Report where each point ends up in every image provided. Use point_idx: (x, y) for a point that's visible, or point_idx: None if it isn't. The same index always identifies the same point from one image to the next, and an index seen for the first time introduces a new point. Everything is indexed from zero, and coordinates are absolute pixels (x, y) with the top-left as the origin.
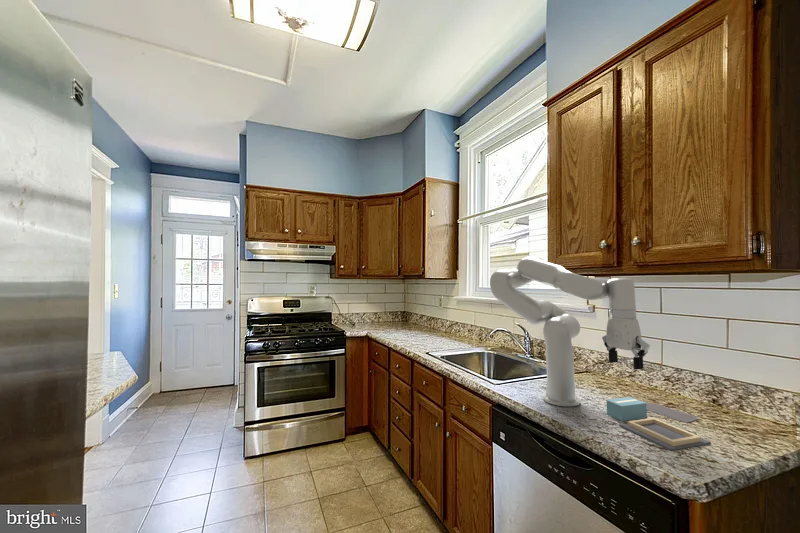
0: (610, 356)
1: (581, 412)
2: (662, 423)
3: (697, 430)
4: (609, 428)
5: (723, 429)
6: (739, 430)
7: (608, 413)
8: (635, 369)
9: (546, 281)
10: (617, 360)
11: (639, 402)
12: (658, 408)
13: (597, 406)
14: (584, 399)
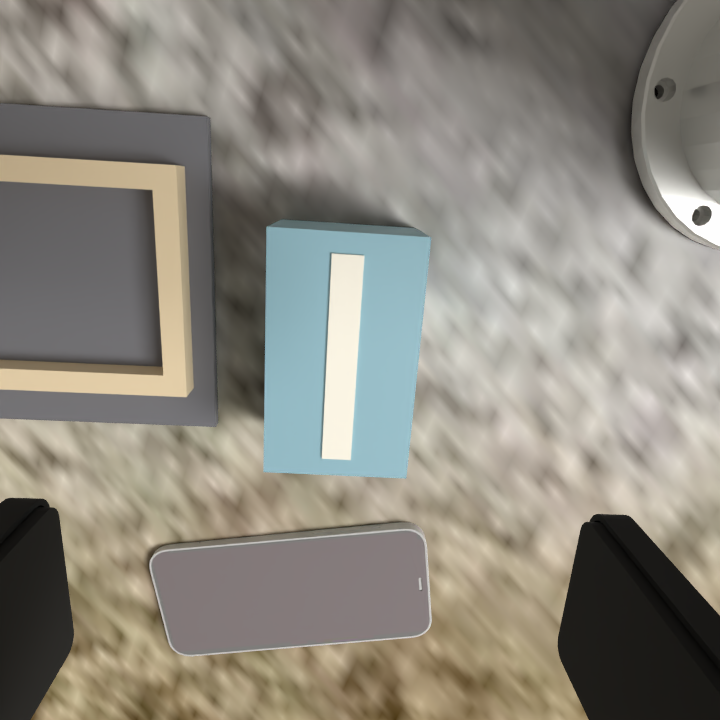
0: (657, 605)
1: (518, 59)
2: (103, 371)
3: None
4: (203, 2)
5: None
6: None
7: (401, 227)
8: (31, 502)
9: None
10: (570, 668)
11: (287, 435)
12: (343, 588)
13: (549, 288)
14: (693, 315)
